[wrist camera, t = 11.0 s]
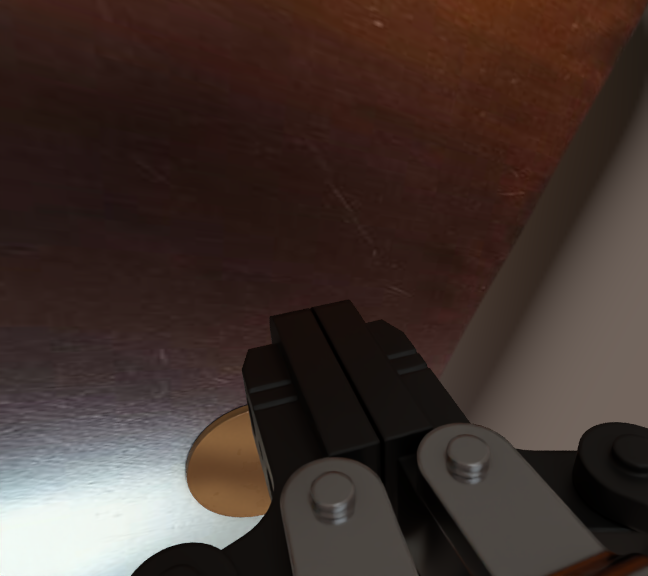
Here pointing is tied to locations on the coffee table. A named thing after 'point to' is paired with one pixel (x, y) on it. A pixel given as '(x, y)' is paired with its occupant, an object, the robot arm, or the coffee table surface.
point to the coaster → (228, 468)
